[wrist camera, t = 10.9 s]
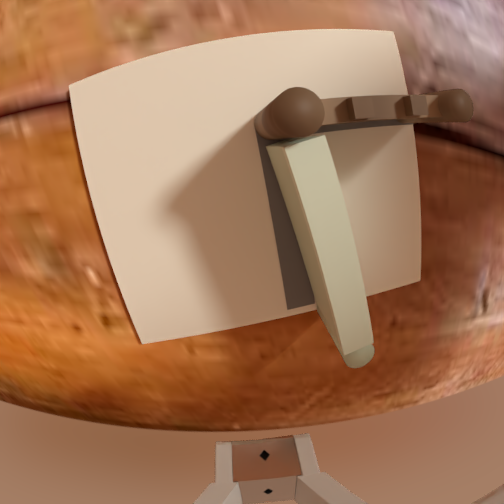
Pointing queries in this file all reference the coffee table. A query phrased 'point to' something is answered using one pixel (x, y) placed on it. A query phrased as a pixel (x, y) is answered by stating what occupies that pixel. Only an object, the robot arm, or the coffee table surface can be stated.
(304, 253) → the fence gate panel
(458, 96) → the fixed fence section
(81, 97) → the card
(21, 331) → the coffee table surface
